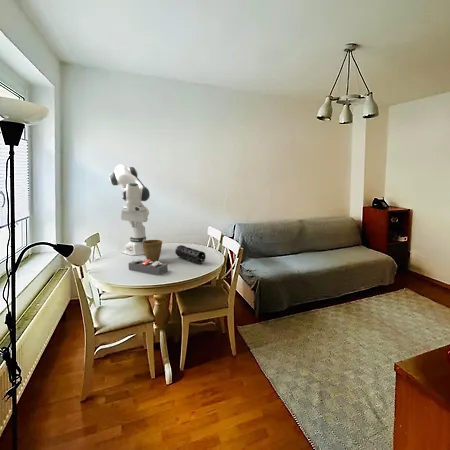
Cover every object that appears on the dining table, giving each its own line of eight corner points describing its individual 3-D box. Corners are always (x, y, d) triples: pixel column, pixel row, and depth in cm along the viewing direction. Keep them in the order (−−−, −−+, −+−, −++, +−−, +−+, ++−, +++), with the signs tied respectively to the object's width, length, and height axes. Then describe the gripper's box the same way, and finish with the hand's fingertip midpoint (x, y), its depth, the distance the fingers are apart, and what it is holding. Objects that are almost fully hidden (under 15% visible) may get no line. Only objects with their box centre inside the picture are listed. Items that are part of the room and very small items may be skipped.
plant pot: (166, 260, 233) (166, 240, 230) (153, 265, 220) (152, 244, 217) (152, 257, 240) (151, 238, 237) (138, 262, 227) (137, 242, 224)
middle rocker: (142, 265, 206) (141, 263, 205) (147, 261, 211) (146, 259, 210) (145, 266, 205) (145, 264, 204) (151, 261, 209) (150, 259, 209)
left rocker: (132, 262, 209) (132, 259, 209) (138, 261, 214) (138, 259, 214) (136, 263, 207) (136, 260, 207) (142, 262, 213) (142, 260, 213)
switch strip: (128, 269, 211) (128, 262, 210) (138, 265, 220) (138, 258, 219) (158, 275, 200) (158, 267, 199) (167, 270, 209) (167, 263, 208)
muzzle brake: (196, 266, 221) (196, 252, 219) (174, 258, 240) (173, 245, 238) (206, 263, 227) (206, 250, 225) (183, 255, 247) (183, 243, 245)
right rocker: (151, 267, 203) (150, 264, 202) (156, 263, 208) (156, 260, 207) (155, 267, 201) (154, 265, 201) (160, 263, 206) (160, 261, 206)
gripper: (118, 207, 201) (119, 227, 204) (142, 208, 193) (143, 229, 195) (125, 206, 207) (126, 225, 209) (148, 207, 198) (149, 228, 201)
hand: (134, 227), depth 202 cm, fingers closed
